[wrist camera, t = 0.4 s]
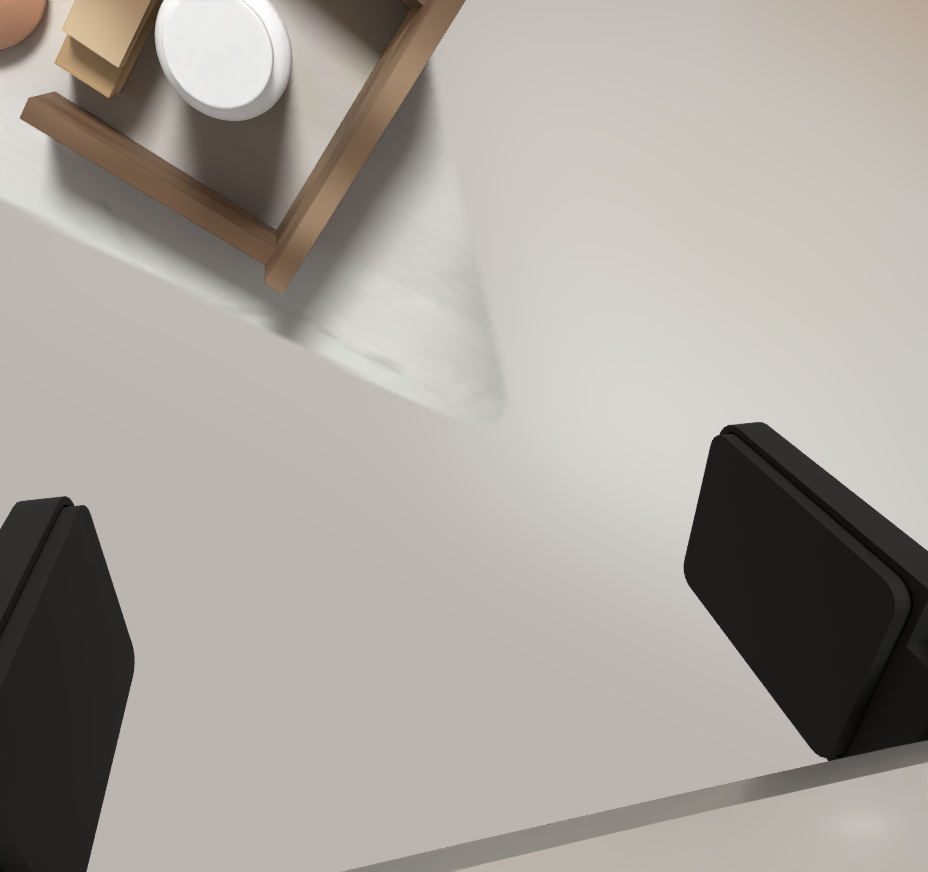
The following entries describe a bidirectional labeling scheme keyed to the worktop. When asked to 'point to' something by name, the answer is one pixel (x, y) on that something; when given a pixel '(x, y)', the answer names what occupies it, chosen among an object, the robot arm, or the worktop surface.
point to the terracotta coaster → (19, 20)
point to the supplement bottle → (224, 55)
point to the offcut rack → (106, 70)
